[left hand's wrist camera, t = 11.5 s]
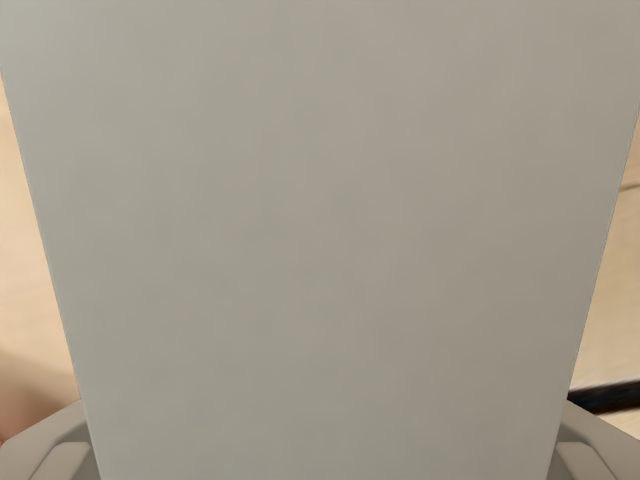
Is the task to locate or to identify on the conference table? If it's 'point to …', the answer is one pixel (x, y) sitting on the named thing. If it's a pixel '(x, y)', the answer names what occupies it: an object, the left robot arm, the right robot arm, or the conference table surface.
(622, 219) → the conference table surface
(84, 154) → the bar
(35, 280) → the conference table surface
